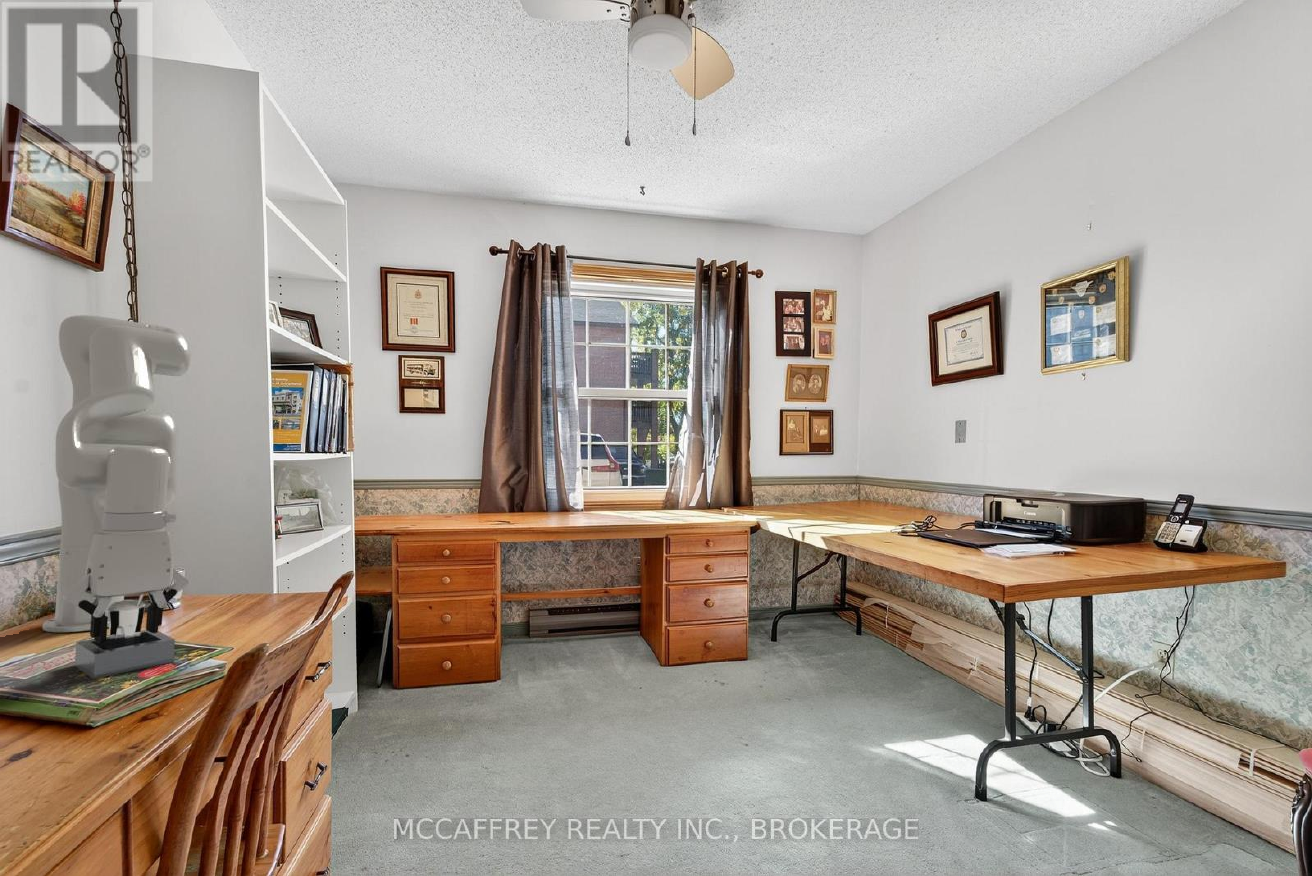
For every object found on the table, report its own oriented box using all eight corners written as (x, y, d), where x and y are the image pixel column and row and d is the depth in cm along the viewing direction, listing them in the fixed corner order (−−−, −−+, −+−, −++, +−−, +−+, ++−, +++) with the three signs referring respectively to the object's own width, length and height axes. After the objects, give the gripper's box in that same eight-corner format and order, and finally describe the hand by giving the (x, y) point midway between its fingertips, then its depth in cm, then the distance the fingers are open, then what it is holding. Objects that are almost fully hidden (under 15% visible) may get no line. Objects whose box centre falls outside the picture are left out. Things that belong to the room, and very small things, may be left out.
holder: (74, 665, 92) (76, 642, 92) (151, 650, 100) (153, 628, 100) (93, 679, 87) (95, 654, 87) (173, 661, 95) (174, 639, 95)
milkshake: (123, 662, 91) (126, 597, 92) (97, 661, 92) (100, 597, 93) (154, 654, 95) (157, 592, 96) (128, 653, 96) (131, 592, 97)
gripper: (189, 517, 104) (183, 621, 103) (53, 524, 89) (44, 644, 88) (207, 521, 99) (200, 628, 99) (67, 529, 85) (57, 654, 84)
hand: (126, 635), depth 94 cm, fingers open, 5 cm apart
